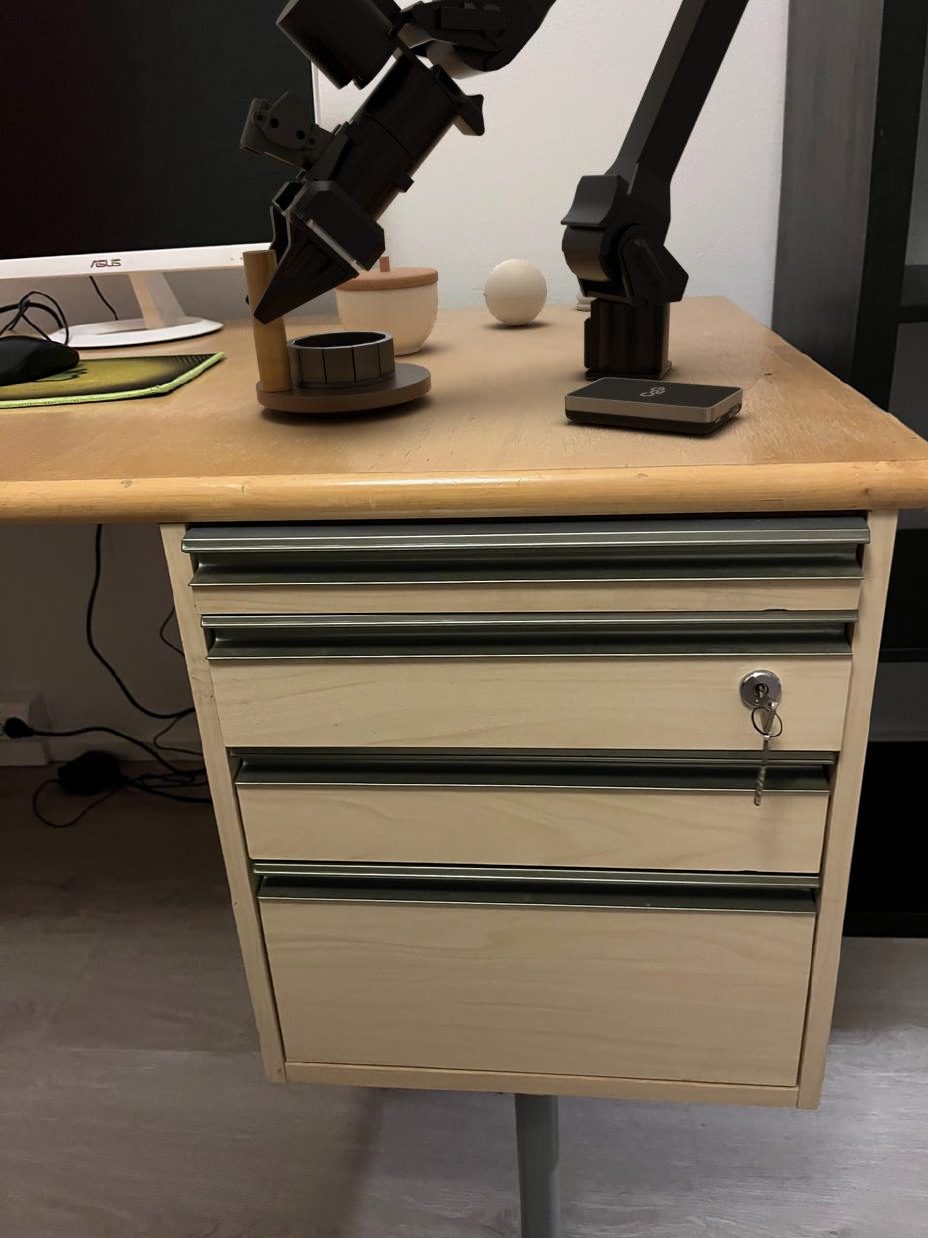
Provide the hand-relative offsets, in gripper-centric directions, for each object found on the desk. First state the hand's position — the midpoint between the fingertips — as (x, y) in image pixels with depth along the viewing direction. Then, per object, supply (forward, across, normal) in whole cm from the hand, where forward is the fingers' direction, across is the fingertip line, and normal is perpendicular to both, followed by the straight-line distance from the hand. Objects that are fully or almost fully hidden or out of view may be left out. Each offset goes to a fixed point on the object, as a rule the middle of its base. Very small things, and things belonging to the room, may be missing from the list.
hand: (253, 312), depth 71 cm
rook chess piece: (-26, -42, +37) cm, 62 cm away
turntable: (0, -2, +10) cm, 10 cm away
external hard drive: (-13, +14, +24) cm, 31 cm away
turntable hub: (+1, -2, +10) cm, 11 cm away
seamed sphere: (-16, -36, +28) cm, 48 cm away
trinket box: (-5, -26, +16) cm, 31 cm away
